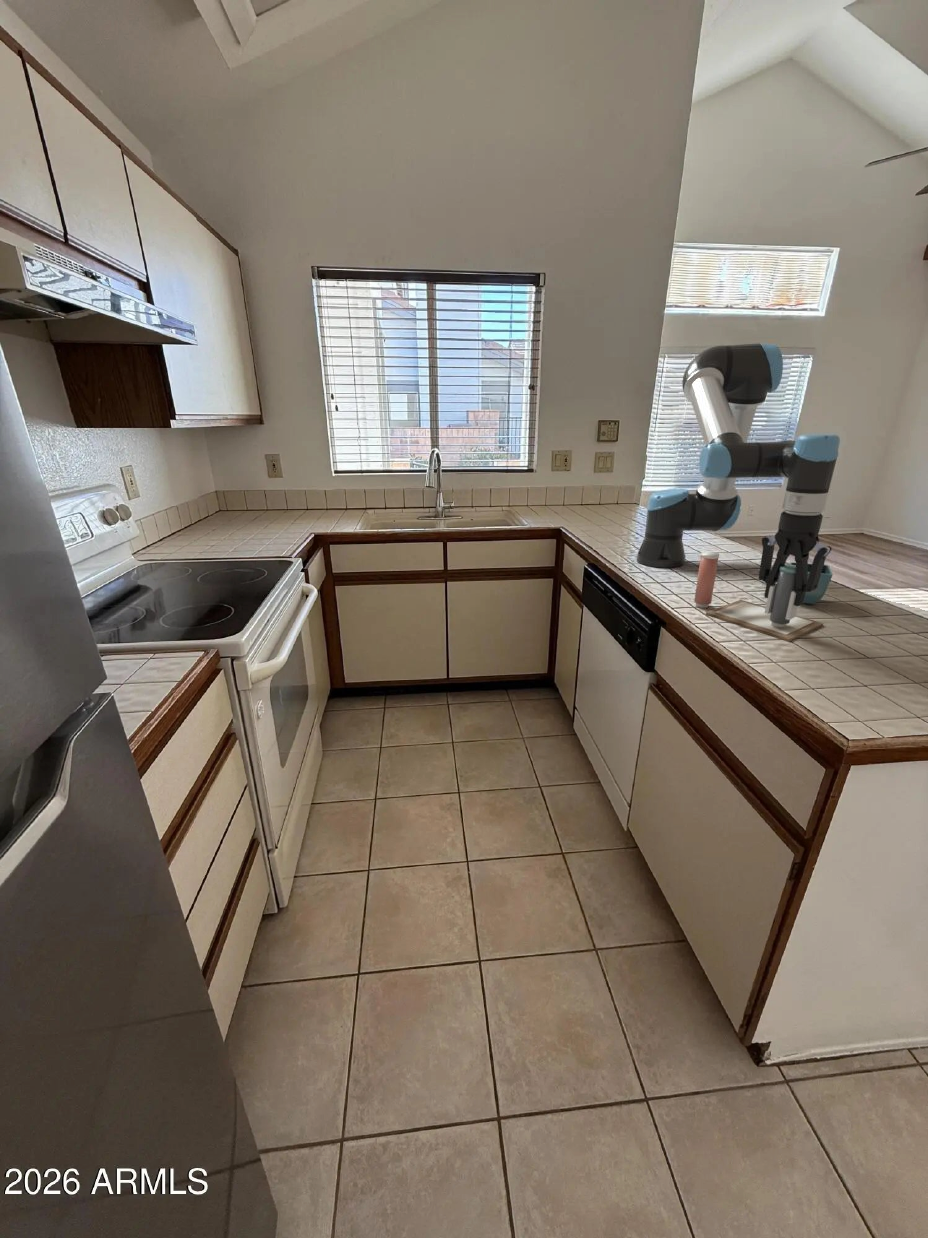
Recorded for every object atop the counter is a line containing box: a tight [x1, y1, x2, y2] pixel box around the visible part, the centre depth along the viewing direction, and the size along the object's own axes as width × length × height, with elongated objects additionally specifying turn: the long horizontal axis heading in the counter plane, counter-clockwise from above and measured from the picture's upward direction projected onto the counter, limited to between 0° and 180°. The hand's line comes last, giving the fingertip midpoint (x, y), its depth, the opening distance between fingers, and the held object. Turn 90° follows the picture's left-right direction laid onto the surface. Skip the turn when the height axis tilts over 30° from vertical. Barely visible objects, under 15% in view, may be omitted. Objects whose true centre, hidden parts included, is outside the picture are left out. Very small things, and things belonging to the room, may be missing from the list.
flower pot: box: [789, 561, 833, 605], centre depth 133 cm, size 9×9×9 cm
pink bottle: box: [694, 551, 720, 609], centre depth 130 cm, size 4×4×14 cm
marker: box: [770, 563, 796, 628], centre depth 115 cm, size 4×4×14 cm
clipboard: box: [705, 599, 824, 642], centre depth 123 cm, size 20×15×1 cm
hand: (779, 614), depth 117 cm, fingers closed on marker, 4 cm apart
